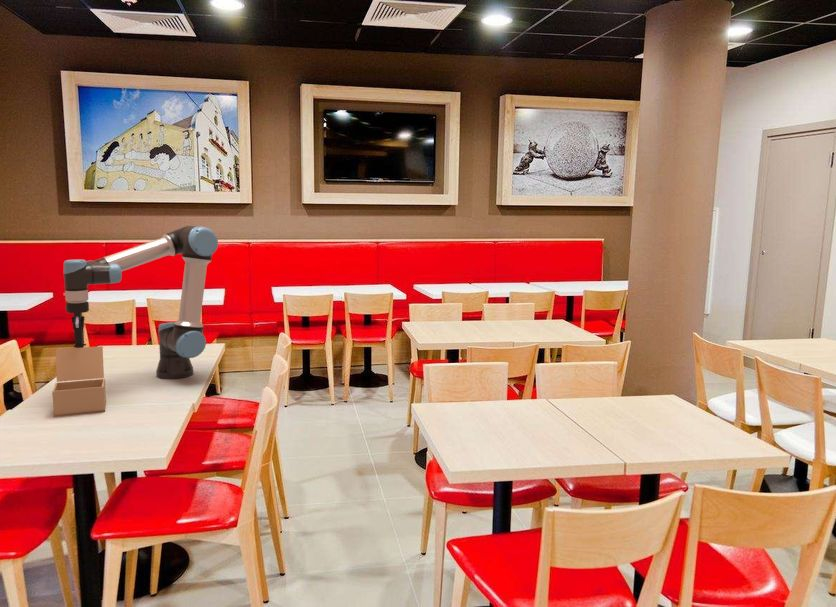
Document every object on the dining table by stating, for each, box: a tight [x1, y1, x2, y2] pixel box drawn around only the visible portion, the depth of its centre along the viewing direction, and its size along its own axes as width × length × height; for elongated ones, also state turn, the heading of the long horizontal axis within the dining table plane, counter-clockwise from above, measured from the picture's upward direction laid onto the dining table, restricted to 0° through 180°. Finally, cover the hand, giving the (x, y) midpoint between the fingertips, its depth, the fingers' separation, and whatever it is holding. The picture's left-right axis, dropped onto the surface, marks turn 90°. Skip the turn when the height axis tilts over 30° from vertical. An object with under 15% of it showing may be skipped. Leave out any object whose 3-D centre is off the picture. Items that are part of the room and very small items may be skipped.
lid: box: [55, 345, 105, 383], centre depth 244 cm, size 15×12×1 cm
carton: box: [51, 378, 107, 418], centre depth 238 cm, size 16×12×9 cm
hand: (81, 363), depth 250 cm, fingers closed
